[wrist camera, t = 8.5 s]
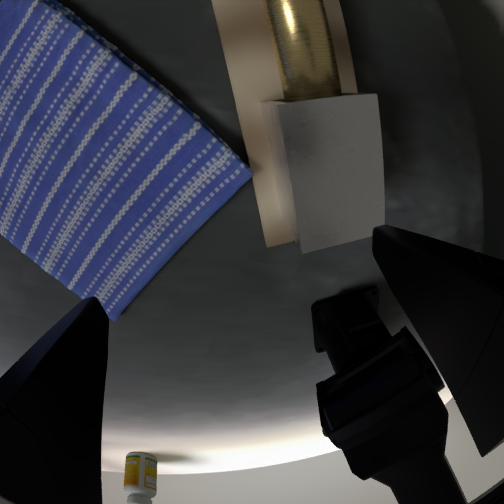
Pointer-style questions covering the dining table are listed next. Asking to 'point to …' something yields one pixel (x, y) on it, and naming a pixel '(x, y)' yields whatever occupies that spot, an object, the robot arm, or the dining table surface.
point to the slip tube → (303, 49)
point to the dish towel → (98, 157)
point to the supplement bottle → (140, 478)
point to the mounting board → (266, 91)
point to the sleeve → (327, 167)
